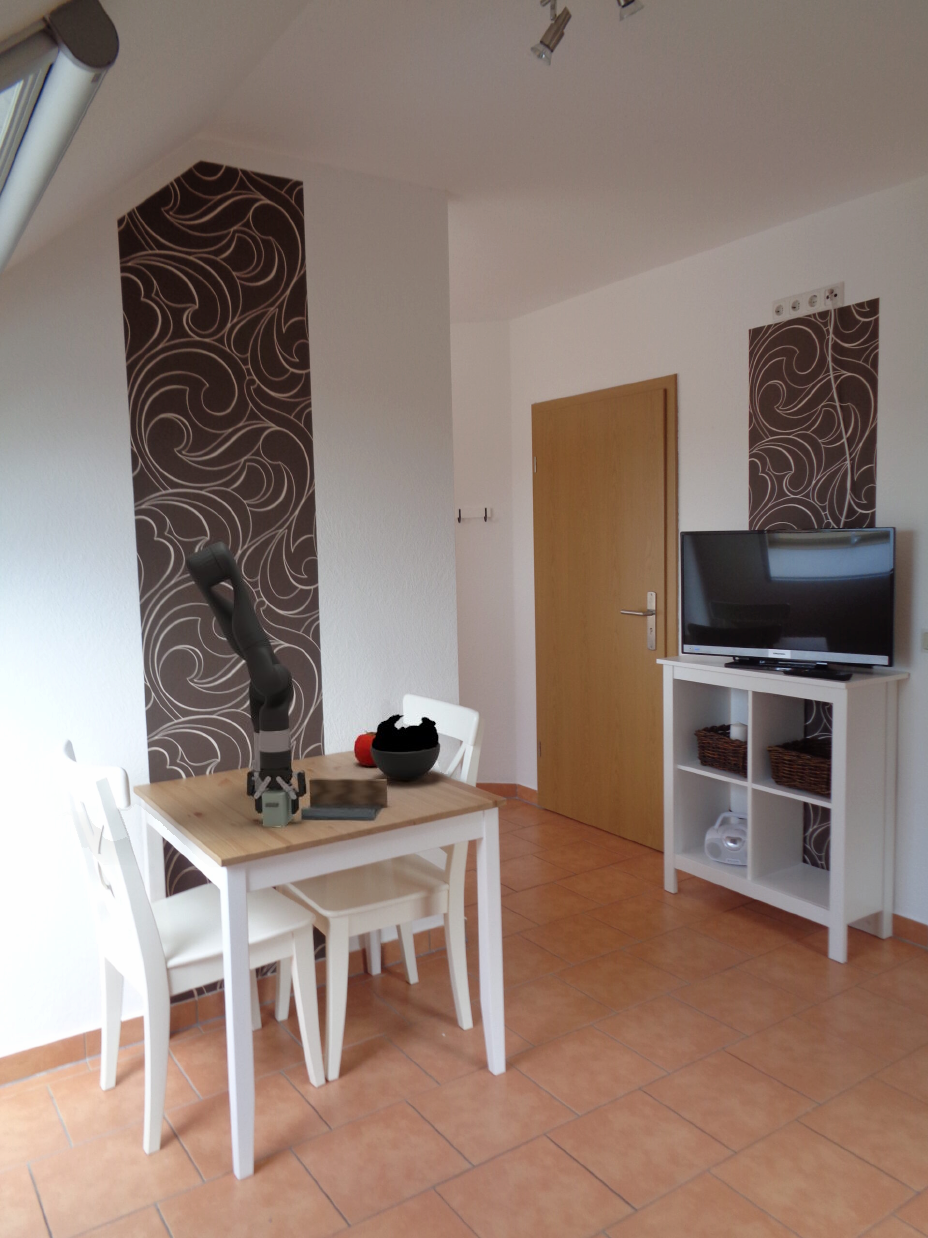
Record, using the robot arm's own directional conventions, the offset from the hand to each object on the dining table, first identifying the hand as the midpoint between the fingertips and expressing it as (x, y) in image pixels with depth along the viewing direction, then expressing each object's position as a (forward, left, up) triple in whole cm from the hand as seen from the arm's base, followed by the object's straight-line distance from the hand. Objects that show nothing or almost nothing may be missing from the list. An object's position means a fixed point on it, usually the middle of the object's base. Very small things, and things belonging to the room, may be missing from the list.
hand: (277, 813), depth 220 cm
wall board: (+14, +14, -2) cm, 20 cm away
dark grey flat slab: (+14, +8, -2) cm, 16 cm away
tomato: (+11, +60, -2) cm, 61 cm away
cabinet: (0, 0, -2) cm, 2 cm away
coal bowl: (+24, +42, -2) cm, 49 cm away
